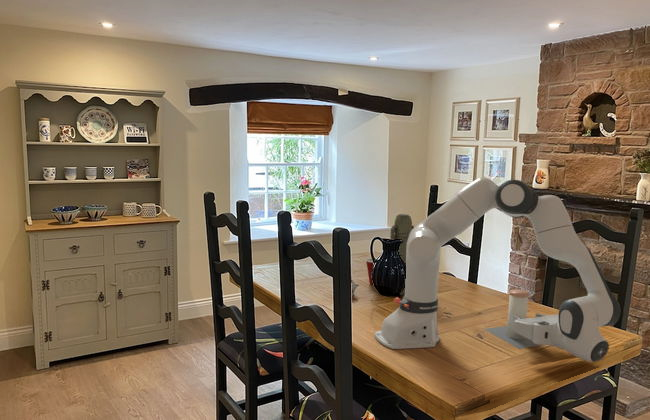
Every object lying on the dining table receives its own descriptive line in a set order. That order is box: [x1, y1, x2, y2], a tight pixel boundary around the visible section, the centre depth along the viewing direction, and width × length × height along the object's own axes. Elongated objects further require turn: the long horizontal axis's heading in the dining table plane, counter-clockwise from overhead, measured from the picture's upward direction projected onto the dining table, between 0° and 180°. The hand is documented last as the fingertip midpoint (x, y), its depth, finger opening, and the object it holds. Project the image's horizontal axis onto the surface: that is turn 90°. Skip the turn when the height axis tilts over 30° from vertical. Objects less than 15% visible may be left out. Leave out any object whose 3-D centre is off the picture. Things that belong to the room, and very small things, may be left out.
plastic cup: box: [365, 257, 373, 286], centre depth 241 cm, size 11×11×12 cm
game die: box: [350, 276, 360, 296], centre depth 223 cm, size 9×8×10 cm
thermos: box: [389, 213, 415, 296], centre depth 229 cm, size 9×12×35 cm
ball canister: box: [506, 289, 530, 339], centre depth 179 cm, size 6×6×16 cm
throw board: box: [483, 325, 540, 350], centre depth 183 cm, size 29×18×1 cm, turn 112°
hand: (526, 316), depth 175 cm, fingers open, 8 cm apart
